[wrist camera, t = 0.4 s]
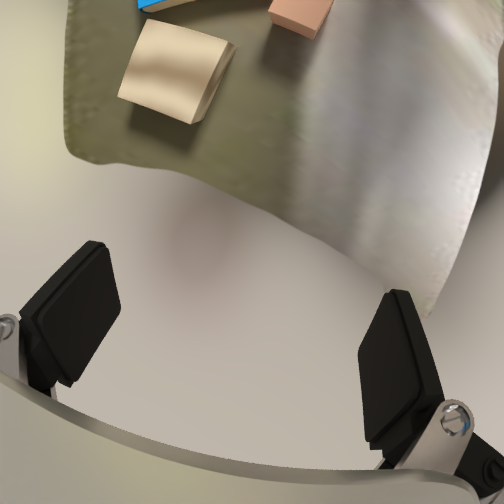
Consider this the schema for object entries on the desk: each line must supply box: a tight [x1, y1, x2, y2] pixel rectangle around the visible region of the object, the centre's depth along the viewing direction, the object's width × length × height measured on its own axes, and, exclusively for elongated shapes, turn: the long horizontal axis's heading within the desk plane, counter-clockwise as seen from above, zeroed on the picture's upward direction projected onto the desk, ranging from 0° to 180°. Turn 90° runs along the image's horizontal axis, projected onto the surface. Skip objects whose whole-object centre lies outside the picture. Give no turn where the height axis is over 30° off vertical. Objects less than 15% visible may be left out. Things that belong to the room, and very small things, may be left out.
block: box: [268, 0, 334, 40], centre depth 23 cm, size 5×5×6 cm
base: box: [117, 19, 237, 124], centre depth 28 cm, size 10×10×5 cm
